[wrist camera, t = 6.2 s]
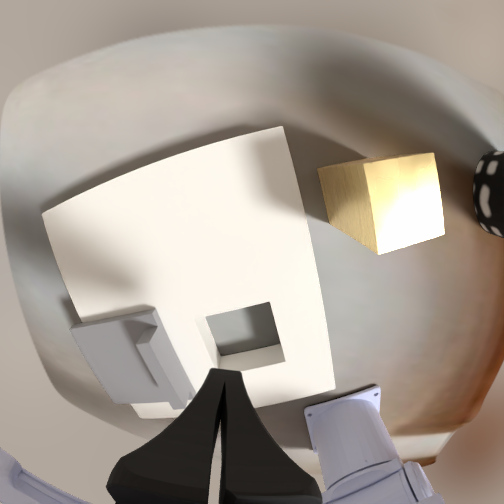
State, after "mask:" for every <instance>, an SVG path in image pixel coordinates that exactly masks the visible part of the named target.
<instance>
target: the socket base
mask: <svg viewBox="0 0 504 504" xmlns="http://www.w3.org/2000/svg"><path fill="white" fill-rule="evenodd" d="M42 217H43V221H44V224H45V228H46V231H47V234H48V238H49V241H50V244H51V247H52V250H53V253H54V256H55V259H56V261H57V264H58V267H59V270H60V272H61V275H62V277H63V280H64V282H65V285H66V287H67V290H68V292H69V295H70V297H71V299H72V301H73V304H74V306H75V308H76V310H77V312H78V315H79V317H80V319H81V321H82V323H85V322H90V321H95V320H101V319H106V318H111V317H116V316H121V315H126V314H131V313H135V312H140V311H145V310H150V309H154V308H156V310H157V312H158V315H159V317H160V319H161V321H162V324H163V326H164V328H165V331H166V333H167V335H168V337H169V339H170V341H171V344H172V346H173V348H174V350H175V352H176V354H177V356H178V358H179V360H180V362H181V364H182V366H183V368H184V370H185V372H186V374H187V376H188V378H189V380H190V382H191V384H192V386H193V388H194V389H195V391H196V394H197V392H198V391H199V389H200V388H201V386H202V384H203V383H204V381H205V379H206V377H207V375H208V373H209V370H210V369H211V368H218V369H226V370H235V371H240V372H241V373H242V377H243V381H244V385H245V388H246V390H247V393H248V396H249V398H250V400H251V403H252V405H253V407H254V408H257V407H263V406H268V405H273V404H278V403H282V402H287V401H291V400H295V399H300V398H304V397H308V396H311V395H315V394H319V393H322V392H326V391H329V390H333V389H335V381H334V373H333V365H332V358H331V351H330V344H329V337H328V331H327V325H326V318H325V312H324V306H323V301H322V295H321V289H320V284H319V279H318V273H317V268H316V263H315V258H314V253H313V248H312V243H311V239H310V234H309V229H308V225H307V220H306V216H305V211H304V207H303V203H302V199H301V194H300V190H299V186H298V182H297V178H296V174H295V170H294V166H293V162H292V159H291V155H290V151H289V147H288V144H287V140H286V136H285V133H284V129H283V126H279V127H275V128H270V129H266V130H262V131H257V132H253V133H249V134H245V135H241V136H237V137H234V138H230V139H226V140H223V141H219V142H216V143H212V144H209V145H206V146H202V147H199V148H196V149H193V150H190V151H186V152H183V153H180V154H177V155H175V156H172V157H169V158H166V159H163V160H160V161H157V162H155V163H152V164H149V165H147V166H144V167H141V168H139V169H136V170H134V171H131V172H129V173H126V174H124V175H121V176H119V177H117V178H114V179H112V180H110V181H107V182H105V183H103V184H100V185H98V186H96V187H94V188H92V189H89V190H87V191H85V192H83V193H81V194H79V195H77V196H75V197H73V198H71V199H69V200H67V201H65V202H63V203H61V204H59V205H57V206H55V207H53V208H51V209H49V210H47V211H46V212H44V213H42ZM269 301H270V304H271V308H272V312H273V315H274V319H275V323H276V327H277V331H278V334H279V338H280V342H281V344H277V345H273V346H269V347H264V348H260V349H255V350H251V351H246V352H241V353H236V354H231V355H226V356H220V354H219V351H218V349H217V346H216V344H215V341H214V339H213V336H212V333H211V331H210V328H209V326H208V323H207V321H206V318H205V316H209V315H214V314H219V313H223V312H227V311H232V310H236V309H240V308H245V307H249V306H253V305H257V304H261V303H265V302H269ZM191 401H192V400H188V401H187V406H188V405H189V403H190V402H191ZM131 406H132V407H133V409H134V410H135V411H136V413H137V414H138V415H139V417H140V418H141V419H152V418H175V417H178V416H179V415H180V414H181V413H182V412H183V411H184V410H185V409H177V410H173V408H172V407H171V405H170V404H169V402H158V403H138V404H131ZM187 406H186V407H187Z"/></svg>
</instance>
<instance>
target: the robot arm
mask: <svg viewBox="0 0 504 504" xmlns="http://www.w3.org/2000/svg"><path fill="white" fill-rule="evenodd" d="M380 392H381V389H380V387H379V386H374V387H371V388H368V389H366V390H363V391H360V392H357V393H354V394H351V395H348V396H345V397H341V398H338V399H335V400H331V401H328V402H324V403H321V404H317V405H313V406H310V407H307V408H305V409H304V414H305V418H306V422H307V426H308V431H309V435H310V439H311V443H312V447H313V452H314V453H315V454H318V457H319V461H320V466H321V470H322V475H323V479H324V484H325V488H326V491H325V492H324V493H321V492H320V489H319V487H318V484H317V482H316V480H315V479H314V478H313V477H311V476H310V475H309V474H308V473H306V472H305V471H304V470H303V469H301V468H300V467H299V466H298V465H297V464H296V463H295V462H294V461H293V460H292V459H290V458H289V456H288V455H287V454H286V453H285V452H284V451H283V450H282V449H281V448H280V447H279V446H278V444H277V443H276V442H275V441H274V439H273V438H272V437H271V435H270V434H269V433H268V431H267V430H266V428H265V427H264V425H263V423H262V422H261V420H260V418H259V417H258V415H257V413H256V411H255V409H254V407H253V405H252V403H251V400H250V398H249V396H248V393H247V390H246V388H245V385H244V381H243V377H242V373H241V372H240V371H235V370H226V369H218V368H211V369H210V370H209V373H208V375H207V377H206V379H205V381H204V383H203V384H202V386H201V388H200V389H199V391H198V392H197V394H196V395H195V397H194V398H193V399H192V401H191V402H190V403H189V405H188V406H187V407H186V408H185V410H184V411H183V412H182V413H181V414H180V415H179V416H178V417H177V418H176V419H175V420H174V421H173V422H172V423H171V424H170V425H169V426H168V427H167V428H166V429H164V430H163V431H162V432H161V433H160V434H158V435H157V436H156V437H154V438H153V439H152V440H150V441H149V442H147V443H146V444H144V445H143V446H141V447H140V448H138V449H136V450H135V451H133V452H131V453H129V454H127V455H125V456H123V457H121V458H120V460H119V461H118V462H117V464H116V465H115V467H114V468H113V470H112V472H111V474H110V476H109V480H108V482H107V485H106V488H107V490H108V492H109V493H110V495H111V496H112V498H113V499H114V500H115V501H116V503H115V504H208V496H209V484H210V474H211V464H212V458H213V453H214V448H215V443H216V439H217V434H218V429H219V424H220V419H221V453H222V466H221V479H220V491H219V504H445V502H444V500H443V498H442V496H441V494H440V493H437V494H435V493H434V491H433V489H432V487H431V485H430V483H429V481H428V479H427V477H426V475H425V473H424V471H423V470H422V468H421V466H420V465H419V463H417V462H412V461H408V462H407V463H405V464H404V463H403V462H402V461H401V459H400V457H399V455H398V452H397V450H396V448H395V446H394V444H393V442H392V440H391V438H390V435H389V433H388V431H387V429H386V427H385V425H384V423H383V421H382V419H381V417H380V415H379V409H380ZM0 502H1V503H2V504H91V503H88V502H86V501H84V500H81V499H79V498H77V497H75V496H73V495H71V494H69V493H67V492H64V491H62V490H60V489H58V488H57V487H55V486H52V485H51V484H49V483H47V482H45V481H44V480H42V479H40V478H38V477H37V476H35V475H33V474H32V473H30V472H28V471H27V470H25V469H24V468H22V467H21V465H20V463H19V462H18V461H17V460H16V459H15V458H14V457H12V456H11V455H10V454H8V453H7V452H6V451H4V450H3V449H1V448H0Z"/></svg>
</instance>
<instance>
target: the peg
mask: <svg viewBox="0 0 504 504" xmlns="http://www.w3.org/2000/svg"><path fill="white" fill-rule="evenodd" d="M317 171H318V175H319V179H320V183H321V188H322V192H323V196H324V201H325V206H326V210H327V215H328V220H329V224H331V225H332V226H334V227H336V228H337V229H339V230H341V231H342V232H344V233H345V234H347V235H349V236H350V237H352V238H353V239H355V240H357V241H358V242H360V243H361V244H363V245H365V246H366V247H368V248H369V249H371V250H372V251H374V252H375V253H377V254H382V253H385V252H388V251H392V250H395V249H398V248H401V247H405V246H408V245H411V244H414V243H417V242H421V241H424V240H427V239H430V238H433V237H436V236H439V235H442V234H444V226H443V214H442V204H441V195H440V187H439V180H438V174H437V168H436V162H435V157H434V153H419V154H406V155H394V156H384V157H374V158H366V159H361V160H355V161H350V162H345V163H340V164H335V165H330V166H325V167H320V168H317Z"/></svg>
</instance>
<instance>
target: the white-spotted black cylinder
mask: <svg viewBox="0 0 504 504" xmlns="http://www.w3.org/2000/svg"><path fill="white" fill-rule="evenodd" d="M473 196H474V206H475V211H476V215H477V217H478V220H479V222H480V224H481V226H482V227H483V228H484V229H485V230H486V231H487V232H489V233H490V234H493V235H496V236H499V237H502V238H504V151H491V152H488V153H486V154H485V155H484V156H483V157H482V158H481V160H480V162H479V164H478V166H477V169H476V172H475V178H474V187H473Z"/></svg>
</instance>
